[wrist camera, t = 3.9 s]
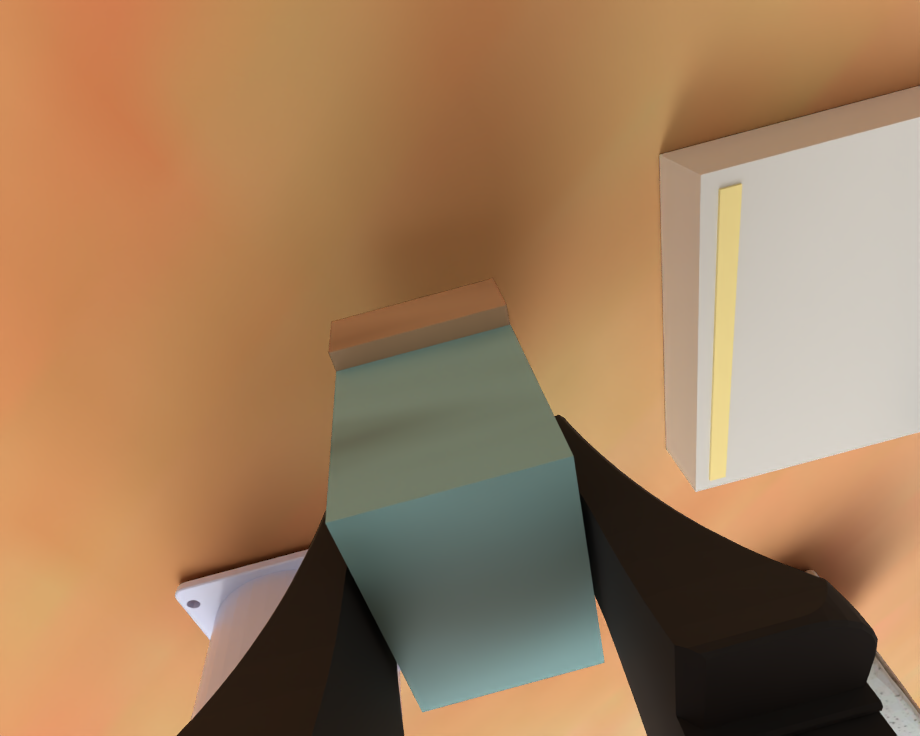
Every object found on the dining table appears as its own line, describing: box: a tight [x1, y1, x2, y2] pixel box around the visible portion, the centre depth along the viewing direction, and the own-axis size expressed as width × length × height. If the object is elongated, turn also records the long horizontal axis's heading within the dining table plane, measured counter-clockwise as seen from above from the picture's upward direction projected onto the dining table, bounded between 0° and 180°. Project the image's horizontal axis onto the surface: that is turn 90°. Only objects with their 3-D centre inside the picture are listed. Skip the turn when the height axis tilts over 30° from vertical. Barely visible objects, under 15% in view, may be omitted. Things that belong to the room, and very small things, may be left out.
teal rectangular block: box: [325, 278, 604, 712], centre depth 13 cm, size 7×4×6 cm, turn 13°
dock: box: [659, 86, 920, 492], centre depth 18 cm, size 12×10×4 cm
